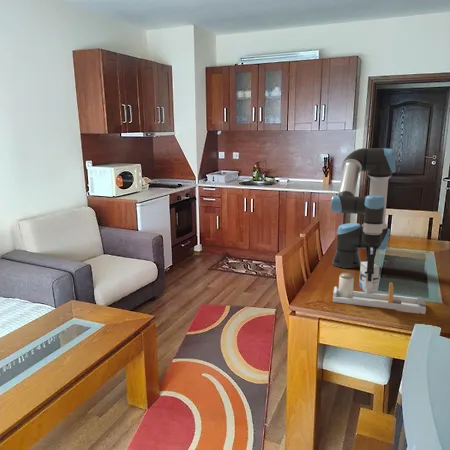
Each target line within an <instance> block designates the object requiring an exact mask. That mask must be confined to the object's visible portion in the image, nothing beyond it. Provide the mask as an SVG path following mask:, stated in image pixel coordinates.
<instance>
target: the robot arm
mask: <svg viewBox="0 0 450 450" xmlns="http://www.w3.org/2000/svg"><path fill="white" fill-rule="evenodd" d="M395 155H396V154H395V150H394V149H393V148H386V147H384V148H383V147H381V148H380V147H379V148H377V147H376V148H374V147H373V148H371V147H369V148H358V149H355V150H353V151H352V152H350V153H349V154H348V155H347V156H346V157H345V159H344V160H343V161H342V165H341V171H342V174H341V177H340V178H341V179H340V183H339V187H338V191H337V195H332V197H331V199H330V210H331V212H333V213H338V214H355V215H358V214H359V215H363V224H360V223H357V222H350V223H349V222H348V223H343V224H340V225H339V226H337V233H336V234H337V236H336V237H337V238H336V251H335V254H334V256H333V258H332V265H333V264H334V265H335V266H334V265H333V266H334V267H336V266H338V267H337V268H340V267H342V268H341V269H345V268H355V269H359V268H360V266H361V262H362V260H361V257H360V253H359V249H365V250H366V251H365V254H366V258H365V262H367V272H365V273H366V283H365V288H369V289H372V284H373V274H374V263H375V258H376V252H377V251H379V250H380V251H384V250H386V248H387V246H388V244H389V243H388V242H389V240H390V234H391V229H390V228H388V224H387V223H386V209H387V201H388V200H387V198H388V189H389V188H388V186H389V179H390V178H391V177H392V176H393V173H396V158H395ZM362 172H364V173H365V172H367V176H368V177H369V178H370V181H369V193H368V194H369V195H366V196H356V192H357V185H358V179H359V175H360V174H361V173H362ZM358 267H359V268H358ZM369 270H372V271H369Z"/></svg>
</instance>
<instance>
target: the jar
mask: <svg viewBox="0 0 450 450" xmlns="http://www.w3.org/2000/svg"><path fill="white" fill-rule="evenodd" d="M338 278H339V279H338V289H339V292H338V297H343V298H352V299H353V291H354V283H355V282H354V281H355V277H354V275H353V273H350V272H341V273H340V275H339V277H338Z"/></svg>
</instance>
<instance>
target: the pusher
mask: <svg viewBox="0 0 450 450" xmlns="http://www.w3.org/2000/svg"><path fill="white" fill-rule="evenodd" d="M394 289H395V288H394V284H393V282H391V281H390V282H389V285H388V294H387V295H388V303H395V304H401V300H393V295H394Z"/></svg>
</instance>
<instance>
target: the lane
mask: <svg viewBox="0 0 450 450" xmlns="http://www.w3.org/2000/svg"><path fill="white" fill-rule="evenodd" d="M338 292H339V288H338V286H334V287H333V293H332V294H333V295H332V302H333V303H337V304H338V303H339V304H348V305H357V306H363V307H365V306H366V307H374V308H382V309H390V310H395V311H396V312H403V313H411V314H413V313H414V314H420V313H421V314H422V315H426V311H427V307H426V306H427V304H426V302H425V299H424V297H423V296H417V297H412V296H402V295H394V294H393V300H401V304H395V303H388V294H386V293H385V294H384V293H378V294H366V293H365V292H364V291H355V290H353V299H352V298H343V297H338ZM421 314H420V315H421Z"/></svg>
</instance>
